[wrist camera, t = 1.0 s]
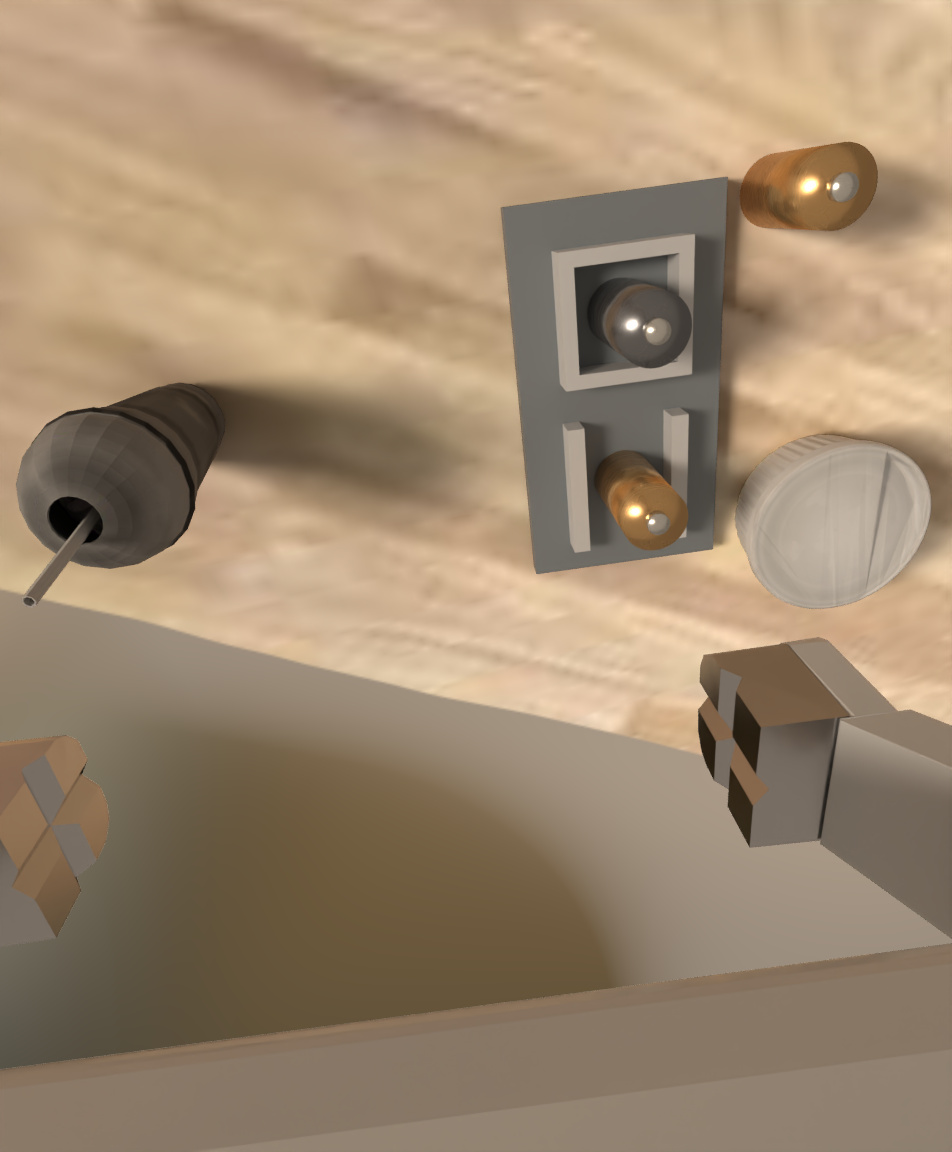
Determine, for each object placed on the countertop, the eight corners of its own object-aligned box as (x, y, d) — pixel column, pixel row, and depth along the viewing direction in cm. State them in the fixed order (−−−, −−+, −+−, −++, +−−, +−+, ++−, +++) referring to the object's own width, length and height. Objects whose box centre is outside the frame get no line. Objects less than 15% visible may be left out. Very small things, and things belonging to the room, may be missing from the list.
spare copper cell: (593, 454, 44) (625, 498, 37) (650, 446, 44) (693, 488, 37) (595, 507, 46) (626, 559, 39) (651, 500, 46) (691, 550, 39)
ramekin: (908, 510, 49) (960, 541, 44) (766, 602, 51) (801, 641, 47) (841, 383, 44) (891, 403, 40) (689, 491, 47) (719, 522, 42)
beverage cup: (239, 358, 41) (102, 470, 23) (256, 477, 44) (147, 656, 26) (109, 358, 40) (-133, 474, 23) (136, 479, 44) (-56, 663, 26)
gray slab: (500, 207, 38) (507, 207, 35) (719, 177, 38) (743, 174, 36) (534, 566, 48) (541, 588, 46) (706, 541, 49) (724, 562, 46)
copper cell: (741, 157, 38) (811, 146, 31) (807, 148, 38) (890, 135, 31) (738, 231, 40) (803, 235, 33) (801, 222, 40) (879, 225, 33)
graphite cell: (585, 281, 39) (620, 296, 32) (649, 273, 39) (697, 286, 32) (588, 348, 41) (621, 375, 34) (650, 339, 41) (695, 365, 34)
